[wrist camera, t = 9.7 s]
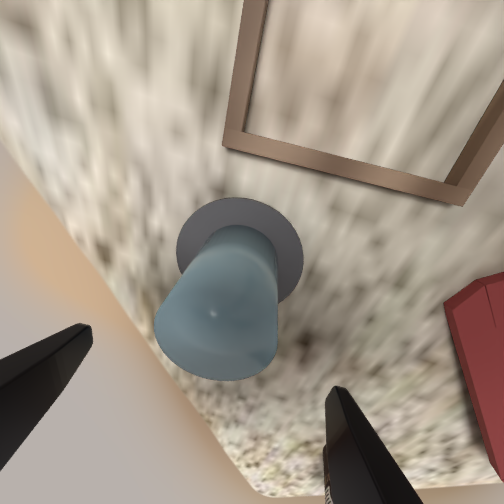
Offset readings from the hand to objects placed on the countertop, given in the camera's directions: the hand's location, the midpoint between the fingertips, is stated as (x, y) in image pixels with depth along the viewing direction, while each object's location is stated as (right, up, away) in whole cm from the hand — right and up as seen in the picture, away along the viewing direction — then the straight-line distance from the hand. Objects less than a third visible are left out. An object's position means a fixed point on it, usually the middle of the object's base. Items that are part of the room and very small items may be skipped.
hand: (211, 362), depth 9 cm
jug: (0, +2, +11) cm, 11 cm away
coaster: (0, +3, +10) cm, 11 cm away
